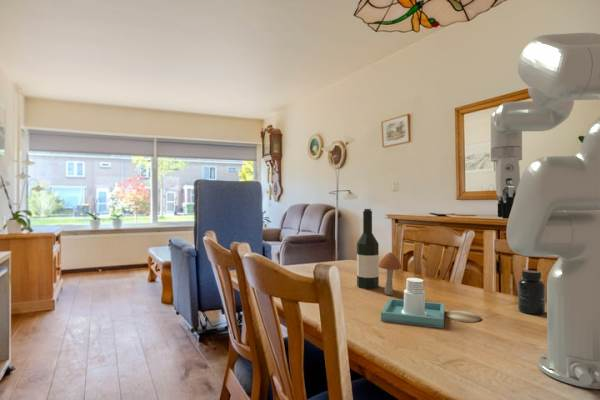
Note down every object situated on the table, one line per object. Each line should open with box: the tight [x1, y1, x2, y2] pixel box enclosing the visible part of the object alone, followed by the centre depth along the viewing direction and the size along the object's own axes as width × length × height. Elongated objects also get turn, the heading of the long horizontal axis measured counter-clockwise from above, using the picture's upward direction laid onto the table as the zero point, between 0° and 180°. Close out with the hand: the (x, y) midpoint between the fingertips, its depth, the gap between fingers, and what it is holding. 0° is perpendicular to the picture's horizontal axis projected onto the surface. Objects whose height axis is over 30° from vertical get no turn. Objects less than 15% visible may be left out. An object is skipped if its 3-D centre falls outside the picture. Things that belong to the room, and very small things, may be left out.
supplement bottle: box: [517, 269, 546, 316], centre depth 110 cm, size 7×7×12 cm
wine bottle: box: [356, 208, 380, 290], centre depth 144 cm, size 8×8×30 cm
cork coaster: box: [445, 310, 482, 323], centre depth 105 cm, size 9×9×1 cm
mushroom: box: [379, 252, 403, 296], centre depth 131 cm, size 8×8×15 cm
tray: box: [380, 297, 445, 329], centre depth 106 cm, size 16×16×2 cm
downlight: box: [401, 277, 427, 316], centre depth 106 cm, size 8×7×10 cm
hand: (506, 217), depth 101 cm, fingers open, 9 cm apart
